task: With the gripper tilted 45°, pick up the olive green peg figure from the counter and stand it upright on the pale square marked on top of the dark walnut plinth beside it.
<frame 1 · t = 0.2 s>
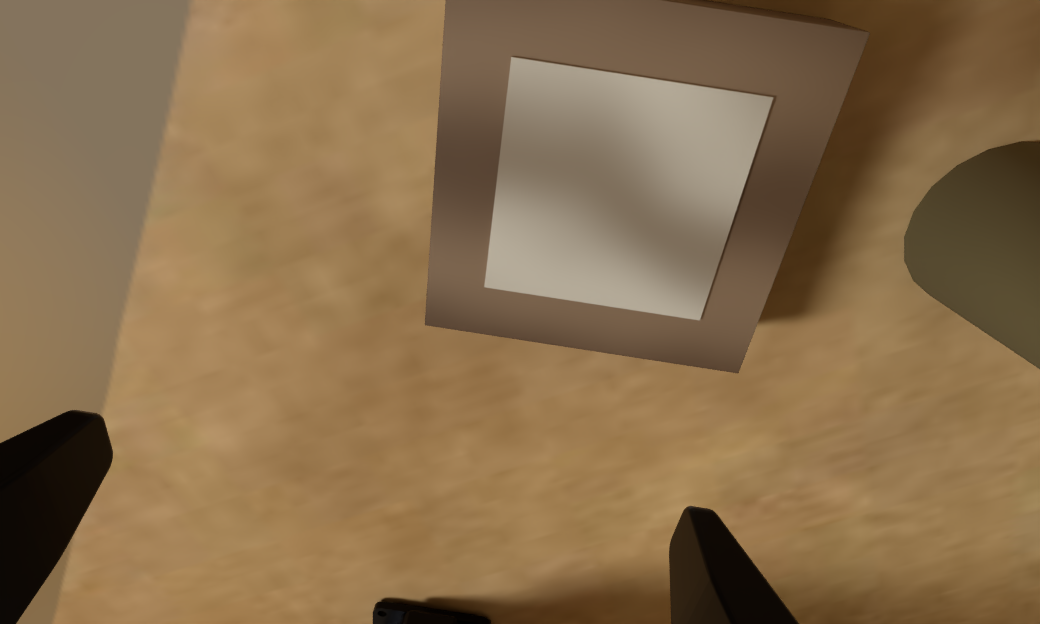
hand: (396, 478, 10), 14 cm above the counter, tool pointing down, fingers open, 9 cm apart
walnut plinth: (610, 169, 22), on the counter
olive green peg figure: (995, 226, 22), on the counter
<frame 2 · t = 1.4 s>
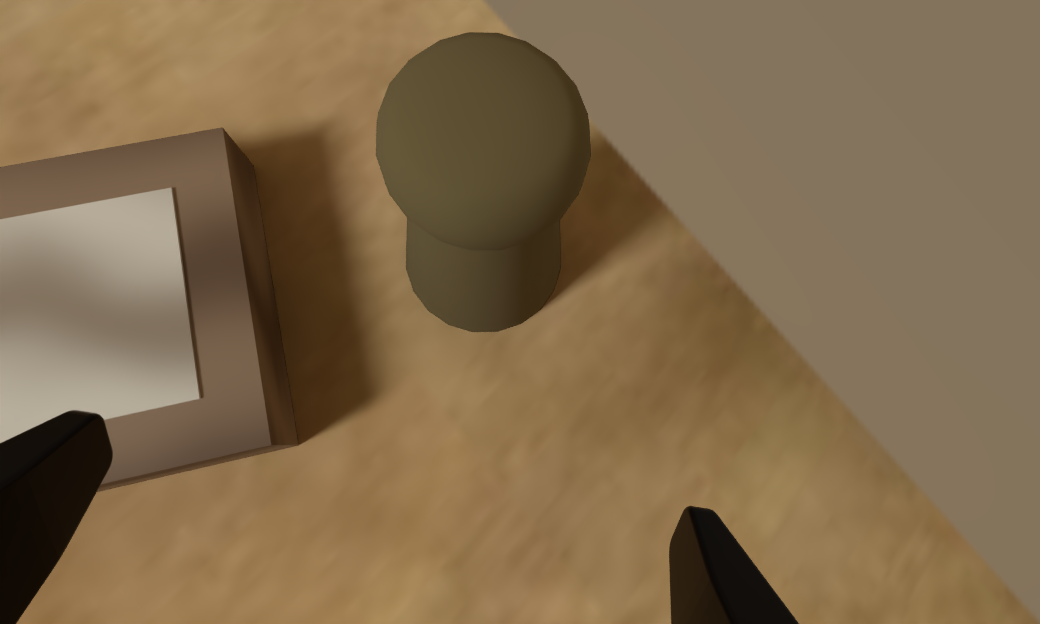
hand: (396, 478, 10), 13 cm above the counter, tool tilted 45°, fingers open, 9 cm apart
walnut plinth: (122, 330, 23), on the counter
olive green peg figure: (483, 257, 25), on the counter
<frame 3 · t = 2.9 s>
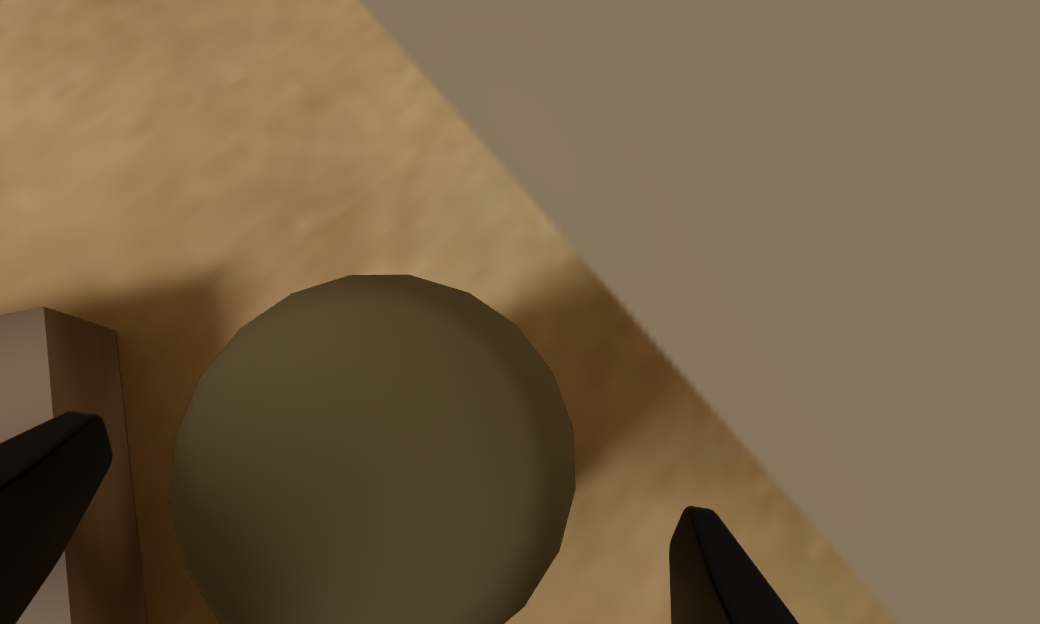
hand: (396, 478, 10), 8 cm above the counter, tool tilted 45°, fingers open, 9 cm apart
olive green peg figure: (434, 457, 18), on the counter
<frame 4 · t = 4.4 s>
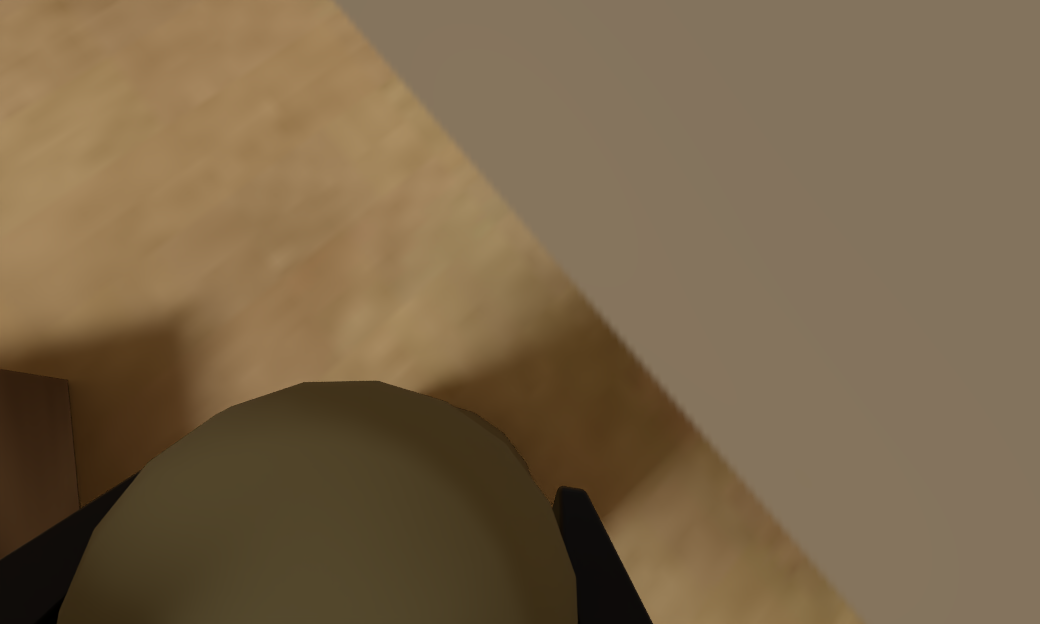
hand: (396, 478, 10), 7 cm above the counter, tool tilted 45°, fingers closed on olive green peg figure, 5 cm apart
olive green peg figure: (421, 521, 16), on the counter, touching gripper
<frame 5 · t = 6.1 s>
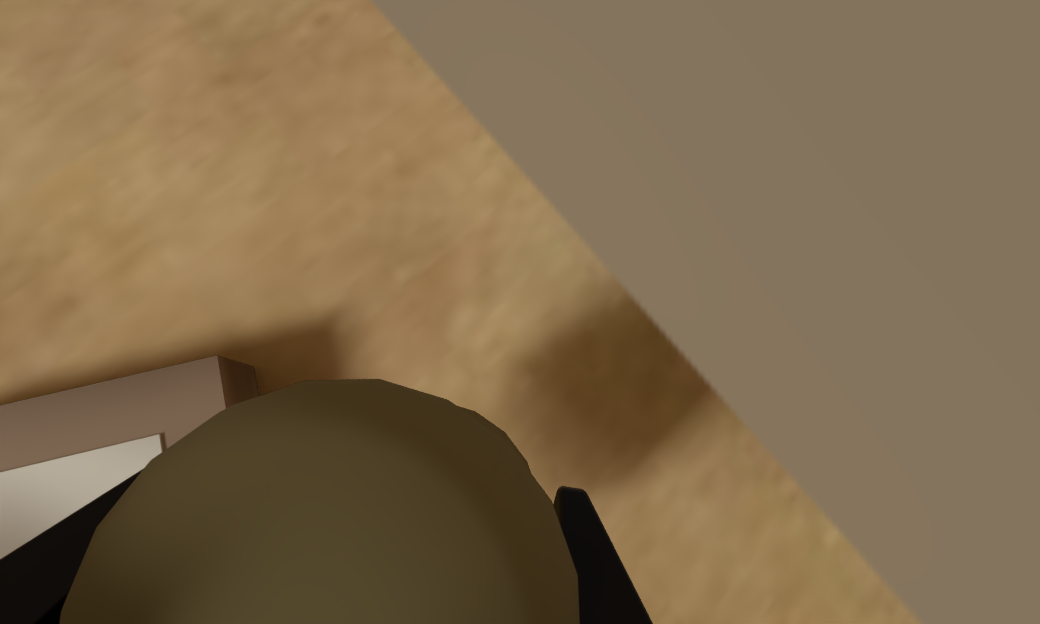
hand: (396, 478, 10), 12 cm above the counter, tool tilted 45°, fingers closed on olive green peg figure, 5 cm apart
walnut plinth: (109, 573, 20), on the counter
olive green peg figure: (422, 520, 16), point 5 cm above the counter, touching gripper
when the fingers open (11 cm above the counter, at t = 8.1 s): olive green peg figure drops 1 cm, resting on walnut plinth.
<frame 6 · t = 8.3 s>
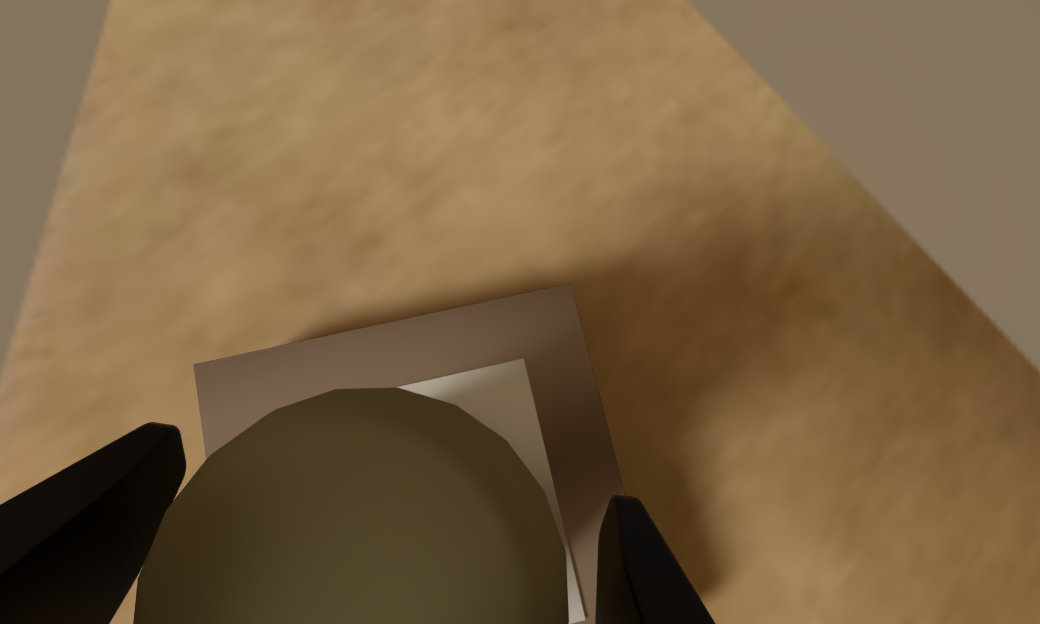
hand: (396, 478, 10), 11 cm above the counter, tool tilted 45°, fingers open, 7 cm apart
walnut plinth: (434, 505, 20), on the counter
olive green peg figure: (427, 522, 17), point 3 cm above the counter, touching walnut plinth
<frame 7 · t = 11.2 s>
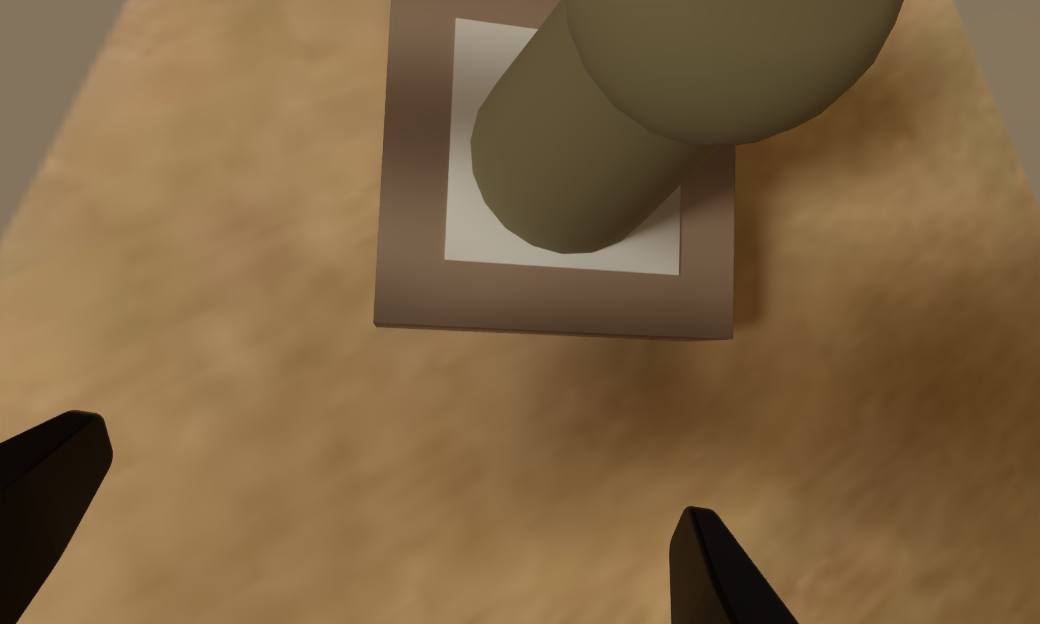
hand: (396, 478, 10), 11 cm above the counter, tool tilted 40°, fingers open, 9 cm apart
walnut plinth: (545, 177, 22), on the counter
olive green peg figure: (568, 157, 19), point 3 cm above the counter, touching walnut plinth
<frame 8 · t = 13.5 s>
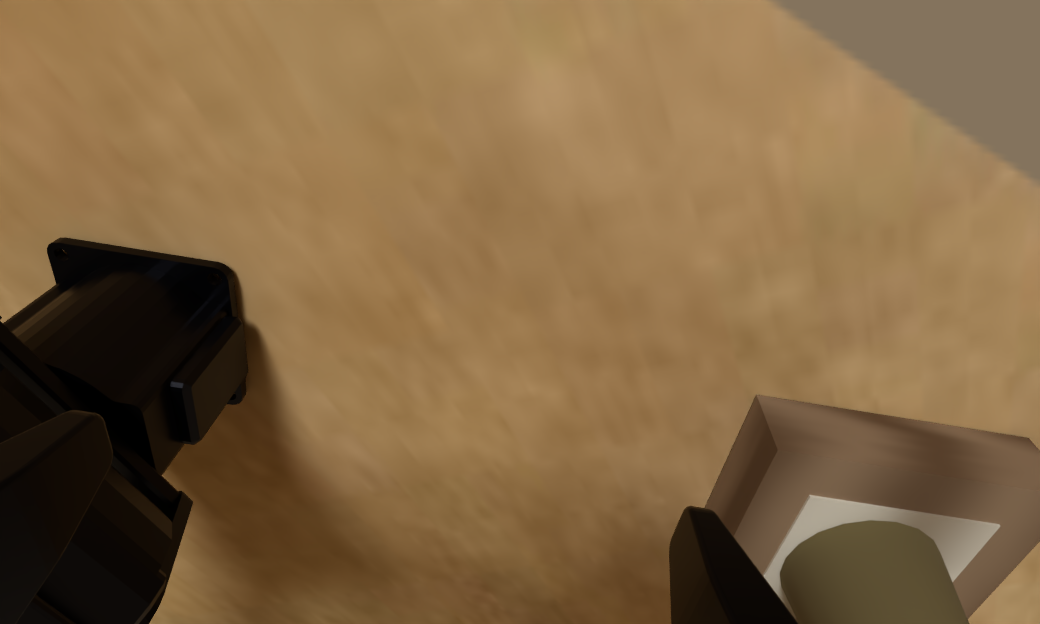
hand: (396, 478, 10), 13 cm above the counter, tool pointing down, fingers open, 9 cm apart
walnut plinth: (835, 509, 28), on the counter
olive green peg figure: (856, 566, 25), point 3 cm above the counter, touching walnut plinth
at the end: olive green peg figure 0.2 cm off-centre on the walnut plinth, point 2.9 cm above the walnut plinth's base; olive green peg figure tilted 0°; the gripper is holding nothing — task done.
